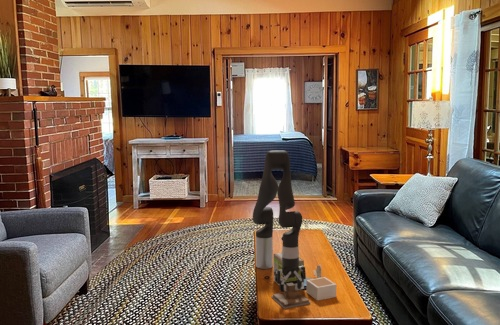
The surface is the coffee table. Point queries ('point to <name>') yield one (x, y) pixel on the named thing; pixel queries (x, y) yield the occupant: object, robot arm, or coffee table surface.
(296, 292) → the lid
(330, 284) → the white square box
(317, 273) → the architectural model
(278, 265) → the tea box
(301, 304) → the mat
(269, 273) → the coffee table surface
